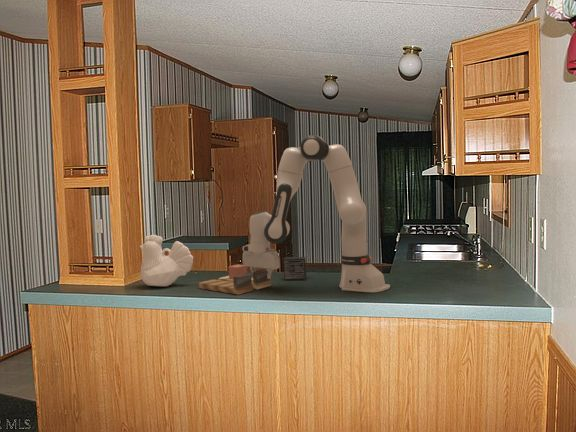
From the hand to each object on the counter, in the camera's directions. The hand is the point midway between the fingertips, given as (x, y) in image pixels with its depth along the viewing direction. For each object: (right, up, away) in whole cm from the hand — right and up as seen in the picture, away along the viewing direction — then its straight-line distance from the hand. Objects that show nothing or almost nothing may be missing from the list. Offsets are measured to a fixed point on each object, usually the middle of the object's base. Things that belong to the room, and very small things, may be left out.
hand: (261, 277), depth 254 cm
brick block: (-12, -2, +10) cm, 16 cm away
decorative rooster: (-46, -6, +13) cm, 48 cm away
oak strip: (-16, -5, -1) cm, 17 cm away
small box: (+16, -3, +17) cm, 24 cm away
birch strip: (-9, -4, +8) cm, 12 cm away
